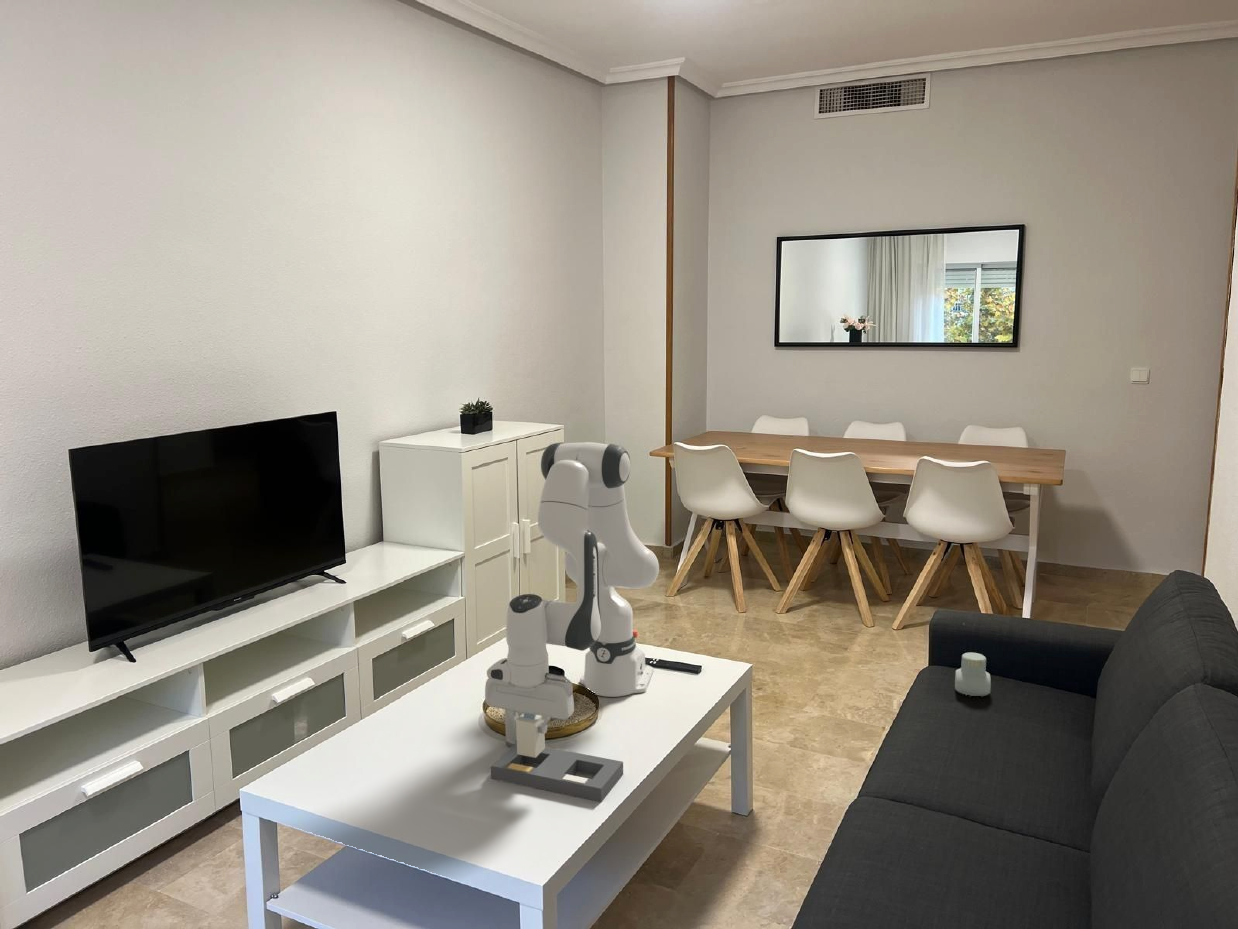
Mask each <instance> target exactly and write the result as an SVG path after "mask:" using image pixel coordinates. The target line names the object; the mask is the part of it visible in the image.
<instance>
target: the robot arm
mask: <svg viewBox="0 0 1238 929" xmlns="http://www.w3.org/2000/svg"><path fill="white" fill-rule="evenodd" d="M540 469H541V470H540V472H541V474H542V476H543V478H544V480H545V482H544V486H543V489H542V493H541V497H540V502H539V508H538V513H537V527H538V529H539V532H540V533H541V535H542V536H543V538H544V539H546V541H548V542H549V543H551V544H552V545H554V546H556V548H560V549H561V550H562V551H564V552H566V554H565V556H564V560H563V565H564V570H565V573H566V574H567V576H568V578H570V579H571V580H572V581H573V582H574V583H575V584H576V586H577V594H576V596H577V599H576V600H575V602H569V601H561V600H560V601H559V600H555V599H547V598H542V597H541V596H540V595H537V594H534V593H525V594H520V595H518V596H516V597H514V598H512V599H511V600H509V603H508V606H507V610H506V620H505V621H506V622H505V638H506V644H507V649H508V652H507V656H506V657H504V658H501V659H500V660H499V659H498V661H496V662H495V663H493V664H492V665H491V666H489V668H487V670H486V677H487V679H486V681H485V686H484V687H485V688H484V699H485V703H486V704H487V706H488V707H491V708H496V709H502V710H505V709H507V710H508V714H509V716H510V717H511V719H512V721H513V725H514V728H515V729H516V719H518V718H519V716H518V714H517V711H518V712H523V713H529V714H535V715H540V716H542V720H544V722H543V723H542V722H541V723H540V724H539V725H538V733H542V734H546V733H547V731H548V724H549V722H550V721H551V719H552V718H553V719H557V720H563V721H566V720H568V719H569V718H570V717H571V716H572V715H573V713H574V712H575V703H574V695H573V690H574V689H573V688H574V687H573V683H572V681H571V680H570V679H569V678H568V677H567V676H565V675H557V674H553V673H549V672H550V671H549V652H548V650H547V645H552V646H553V645H554V646H561V647H566V648H569V649H573V650H578V651H580V652H581V651H586V650H587V649H589V650H588V651H587V652H586V653H585V655H584V657H585V659H584V674H583V675H582V676H581V677H579V682H580V683H581V684H582V685H584V687H585V689H586V688H589V689H590V690H591V691H593V692H595V693H596V694H595V695H596V696H601V697H607V698H608V697H609V698H610V697H614V698H615V697H616V698H617V697H625V696H628V695H629V696H630V695H632V694H639V693H640V694H641V693H645V692H646V691H647V689H648V687H649V684H650V681H651V680H652V677H653V674H654V671H655V670H654V667H652V666H651V665H648V664H646V654H645V652H644V651H643V650H642V649H641V648H639V647H638V646H637V644H636V642H637V641H636V639H637V638H638V636H639V631H638V630H634V629H633V625H634V624H633V622H634V621H633V620H634V618H633V617H634V616H633V614H634V613H633V609H632V606H631V604H630V603H629V602H628V600H626V599H625V598H624V597H622V596H620V594H619V593H618V592H617V591H616V589H615V588H620V589H629V590H634V589H635V590H636V589H646V588H650V587H651V586H653V584H654V583H655V582H656V581H657V578H658V576H659V572H660V563H659V559H658V558H657V556H656V554H655V553H654V552H653V551H652V550H651V549H649V548H648V547H646V545H644V544H643V543H642V541H641V540H640V539H639V538H638V537H637V535H636V533H635V532H634V530H633V528H632V525H631V523H630V519H629V515H628V514H629V513H628V508H627V501H626V490H625V485H624V484H625V483H627V481H628V480H629V477H630V473H631V458H630V454H629V453H628V451H627V450H626V449H625V447H623V446H621V445H620V444H619V445H618V444H614V443H609V444H607V443H601V442H594V441H591V442H590V441H585V442H566V443H565V442H554V443H552V444H551V443H550V444H548V446H547V447H546V448H545V449H544V451H543V452H542V455H541V459H540ZM597 540H598V541H600V542H598V541H597Z"/></svg>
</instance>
